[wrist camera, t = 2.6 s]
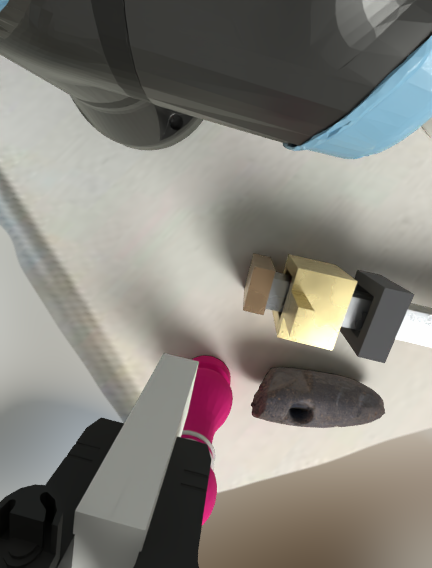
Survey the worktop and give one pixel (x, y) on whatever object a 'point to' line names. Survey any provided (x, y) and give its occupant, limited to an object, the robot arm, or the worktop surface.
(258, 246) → the worktop surface
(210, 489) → the pepper mill
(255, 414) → the perforated stone tool
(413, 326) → the bar clamp
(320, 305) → the sleeve
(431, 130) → the eye dropper bottle
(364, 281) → the ring
